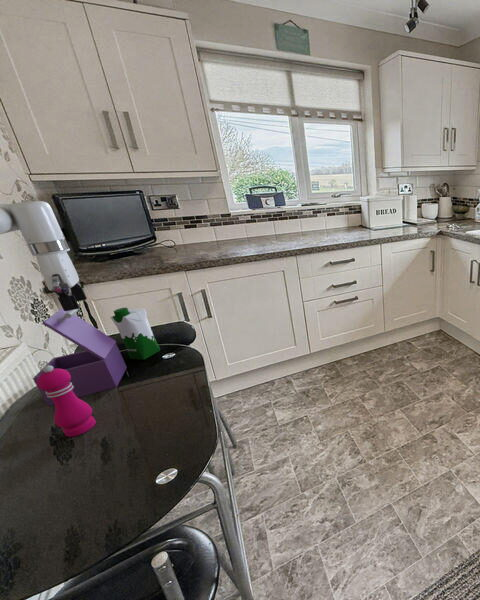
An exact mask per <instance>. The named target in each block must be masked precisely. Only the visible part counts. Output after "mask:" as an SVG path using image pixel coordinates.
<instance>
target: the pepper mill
mask: <svg viewBox="0 0 480 600" xmlns="http://www.w3.org/2000/svg"><path fill="white" fill-rule="evenodd" d="M42 369H43V371H44V373H43V374H41V375H40V376H39V377H38V379H37V385H38V387H39V388H40V389H41V390H45V391H46V392H45V394H47V397H49V398H52V400H53V401H54V403H55V404H54V408H55V409H54V416H53V419H54V423H55V425H56V426H57V427H58V428H61V429H62V433H64V435H65V436H66V437H67V438H73V437H76V436H80V435H82V434H85V433H86V432H88V431H89V430H91V429H92V428H93V427H95V425H96V423H97V421H96V419H95V418H94V416H93V415H92V414H93V408H92V407H91V405H90V404H88V403H87V402H86V401H84V400H83V399H82V398H81V399H80V397H79V398H78V397H76V396H75V394H74V392H73V390H72V389H73V387H74V386H73V385H72V383H71V382H69V381H70V379H71V375H70V373H69V372H68V371H66V370H64V369H53V366H50V365H48V366H46V365H44V366H43V367H42ZM37 385H36V386H37ZM38 387H37V388H38Z"/></svg>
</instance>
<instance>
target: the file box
mask: <svg viewBox="0 0 480 600" xmlns="http://www.w3.org/2000/svg"><path fill="white" fill-rule="evenodd" d="M48 365H50V366H53V369H64V370H66V371H68V372H69V373H70V375H71V379H70V381H69V382H71V383H72V385H73V386H74V387H73V389H72V390H73V392H74V394H75V396H76V397H79V398H81V397H85V395H86V396H89V395H93V394H96V392H97V393H100V392H104V391H107V390H110V389H114V388H118V385H119V384H120V381H121V380H122V377H123V376H124V374H125V372H126V370H127V368H128V366H127V364H126V362H125V360H124V358H123V356H122V353H121V351H120V349H119V347H118V345H117V343H115V344H114V346H113V347H112V349H111V350H110V352H109V353H108V355H107V356H106V358H105V359H104V360H101V359H100V358H98V357H96V356H95V355H93V354H91V353H90V352H88V351H86V350H83V351H77V352H74V353H69V354H64V355H61V356H60V355H59V356H57V357H53V358H51V359H50V360H49V362H48V363H46V364H45V366H48ZM43 373H44V371H43V368H42V369H41V370H40V371H39V372H37V374H36V375H35V376H33V377H32V380H33V382H34V383H35V385H36V387H37V389H38V391H39V392H40V394H41V395H42V397H43V399H44V401H45V402H46V405H47V406H49V407H50V406H53V405H55V403H54V401H53V400H52V398H49V397H47V394H45V392H46V391H45V390H41V389H40V388H39V387H38V385H37V379H38V377H39V376H40V375H41V374H43ZM92 393H93V394H92Z"/></svg>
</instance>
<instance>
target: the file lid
mask: <svg viewBox="0 0 480 600" xmlns="http://www.w3.org/2000/svg"><path fill="white" fill-rule="evenodd" d="M78 312H79V308H78V309H75V310H70V311H64V310H63V308H62V307H61V308H60V309H59V310H58V311H56V312H55V313H53V314H52V315H50V317H48V318H47V319H45V320H44V321H43V322H42V323H41V325H43V326H45V327H46V328H48V329H50V330H51V331H53V332H55V333H57V334H58V335H59V336H62V337H63V338H65V339H66V340H68V341H69V342H71V343H73V344H75V345H76V346H78V347H80V348H81V349H83V350H84V351H88V352H90V353H91V354H93V355H95V356H96V357H98V358H100V359H101V360H104V359H105V358H106V356H107V355H108V353H109V352H110V350H111V349H112V347H113V346H114V344H117V341H116V340H115V339H113V338H112V337H110V336H109V335H108V334H106V333H104V332H103V331H101V330H99V328H96V327H95V326H94V325H92V324H91V323H89V322H87V321H85V320H84V319H82V318H81V317H80V316H78V315H76V313H78Z"/></svg>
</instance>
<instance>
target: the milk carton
mask: <svg viewBox="0 0 480 600" xmlns="http://www.w3.org/2000/svg"><path fill="white" fill-rule="evenodd" d="M113 314H114V315H110V316H109V318H110V319H111V321H112V322H113V324H114V326H115V327H116V329H117V331H118V333H119V335H120V337H121V340H122V342H123V344H124V346H125V349H126V352H127V354H128V356H129V359H130V360H143V361H145V360H146V359H148V358H150V357H152V356H153V355H155V354H157V353H158V352H160V351H161V348H160V346H159V344H158V342H157V339H156V337H155V335H154V332H153V329H152V327H151V324H150V322H149V320H148V315H147V309H146V308H129V309H128V307H120V308H117V309H114V310H113Z"/></svg>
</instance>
